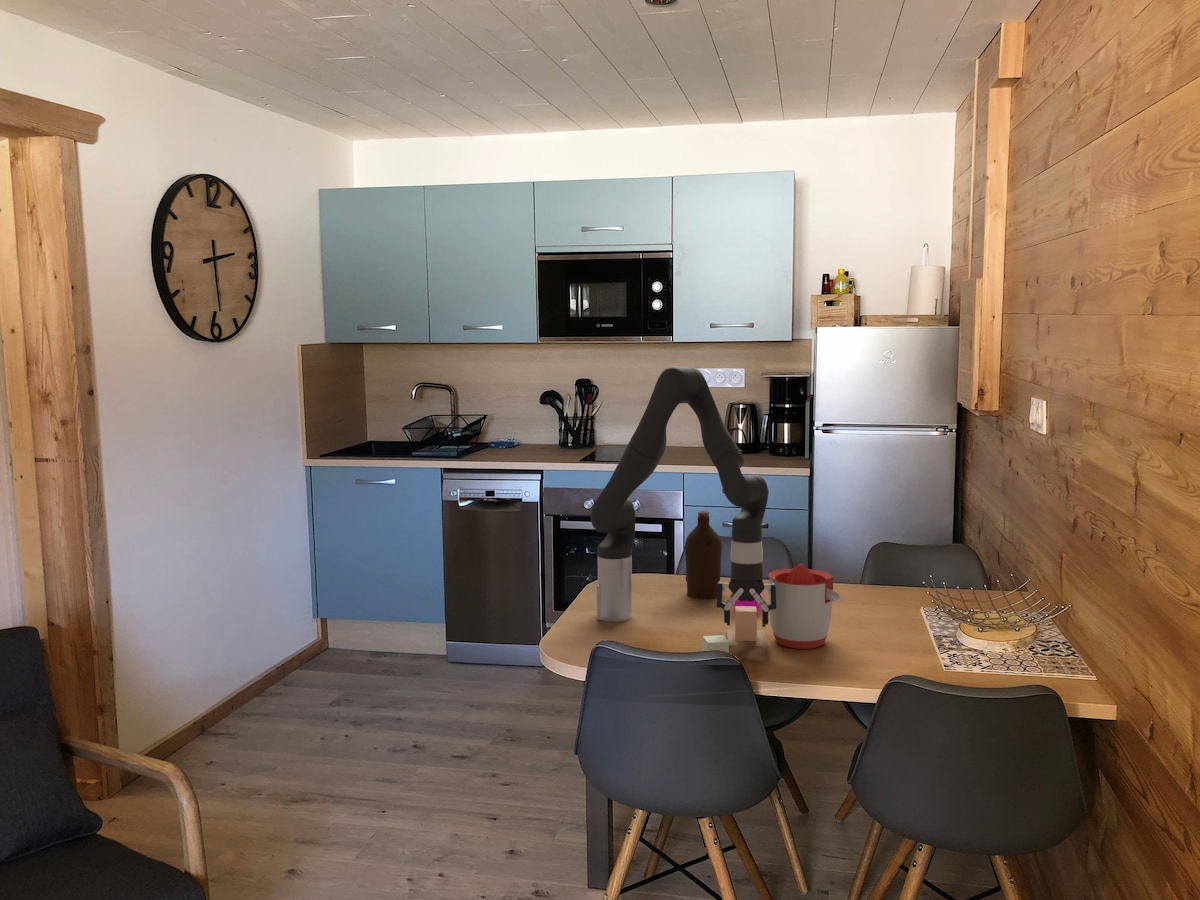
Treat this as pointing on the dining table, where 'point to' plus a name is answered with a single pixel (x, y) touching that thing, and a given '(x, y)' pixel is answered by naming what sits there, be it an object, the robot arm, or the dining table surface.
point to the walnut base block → (748, 647)
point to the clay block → (745, 623)
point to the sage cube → (715, 643)
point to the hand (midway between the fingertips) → (746, 625)
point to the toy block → (748, 604)
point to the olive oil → (703, 559)
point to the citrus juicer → (802, 606)
